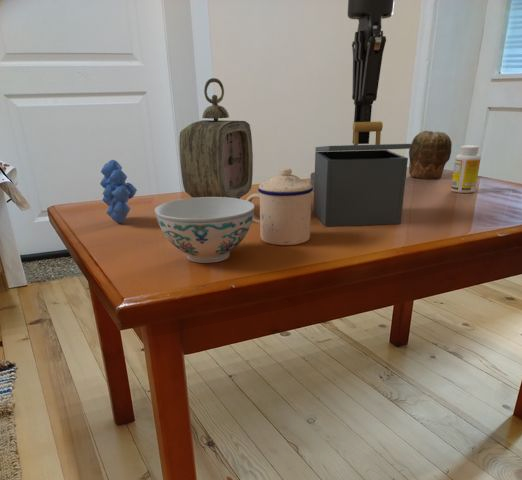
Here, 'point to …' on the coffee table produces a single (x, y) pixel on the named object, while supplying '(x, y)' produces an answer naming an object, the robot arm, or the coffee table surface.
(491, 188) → the coffee table surface
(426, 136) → the brown rounded lump
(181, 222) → the chinaware
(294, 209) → the teacup with lid
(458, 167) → the supplement bottle
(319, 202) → the chest
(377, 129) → the chest lid
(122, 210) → the grapes
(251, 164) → the tabletop clock
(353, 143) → the robot arm
